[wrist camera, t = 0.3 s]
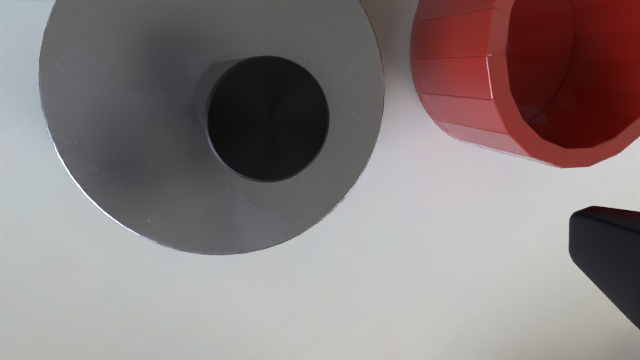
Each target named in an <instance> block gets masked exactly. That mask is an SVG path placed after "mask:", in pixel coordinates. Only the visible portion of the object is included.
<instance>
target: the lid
mask: <svg viewBox="0 0 640 360" xmlns="http://www.w3.org/2000/svg"><path fill="white" fill-rule="evenodd" d="M39 89H40V98H41V106H42V111H43V115H44V119H45V122H46V126H47V130H48V133H49V136H50V138H51V140H52V143H53V145H54V147H55V150H56V152H57V154H58V156H59V158H60V160H61V161H62V163H63V165H64V166H65V168H66V170H67V171H68V173H69V175H70V176H71V178H72V179H73V180H74V181H75V183H76V184H77V185H78V187H79V188H80V189H81V190H82V192H83V193H84V194H85V195H86V196H87V197H88V198H89V199H90V200H91V201H92V202H93V203H94V204H95V205H96V206H97V207H98V208H99V209H100V210H101V211H102V212H103V213H105V214H106V215H107V216H109V217H110V218H111V219H113V220H114V221H115V222H117V223H118V224H119V225H121V226H122V227H124V228H126V229H128V230H129V231H131V232H133V233H135V234H137V235H138V236H140V237H142V238H144V239H147V240H149V241H152V242H154V243H157V244H159V245H161V246H165V247H169V248H172V249H176V250H179V251H184V252H190V253H197V254H204V255H231V254H242V253H248V252H253V251H258V250H262V249H266V248H269V247H272V246H275V245H278V244H281V243H283V242H285V241H288V240H290V239H292V238H294V237H296V236H298V235H300V234H302V233H303V232H305V231H306V230H308V229H310V228H311V227H313V226H314V225H316V224H317V223H318V222H320V221H321V220H322V219H323V218H325V217H326V216H327V215H328V214H330V213H331V212H332V211H333V210H334V209H335V208H336V207H337V206H338V205H339V204H340V203H341V202H342V201H343V200H344V199H345V197H346V196H347V195H348V193H349V192H350V191H351V189H352V188H353V187H354V186H355V184H356V183H357V181H358V179H359V178H360V176H361V174H362V173H363V171H364V169H365V168H366V166H367V163H368V161H369V159H370V157H371V154H372V152H373V150H374V147H375V144H376V140H377V137H378V134H379V131H380V125H381V120H382V115H383V106H384V72H383V66H382V60H381V53H380V49H379V46H378V42H377V39H376V35H375V32H374V29H373V27H372V25H371V22H370V20H369V17H368V15H367V13H366V11H365V9H364V7H363V6H362V4H361V2H360V0H56V2H55V4H54V6H53V8H52V11H51V14H50V17H49V20H48V22H47V25H46V28H45V31H44V35H43V41H42V46H41V52H40V57H39Z"/></svg>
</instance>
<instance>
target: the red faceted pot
mask: <svg viewBox="0 0 640 360" xmlns="http://www.w3.org/2000/svg"><path fill="white" fill-rule="evenodd" d="M410 58H411V68H412V76H413V79H414V83H415V87H416V90H417V93H418V95H419V98H420V100H421V102H422V104H423V106H424V108H425V109H426V111H427V113H428V114H429V115H430V117H431V118H432V119H433V121H434V122H435V123H436V124H437V125H438V126H439V127H440V128H441V129H442V130H444V131H445V132H446V133H448V134H449V135H451V136H452V137H454V138H456V139H458V140H460V141H463V142H466V143H469V144H472V145H475V146H478V147H481V148H484V149H488V150H492V151H496V152H500V153H503V154H507V155H511V156H515V157H519V158H522V159H526V160H530V161H534V162H538V163H542V164H545V165H549V166H553V167H557V168H576V167H590V166H592V165H594V164H596V163H599V162H601V161H603V160H606V159H608V158H610V157H612V156H615V155H617V154H618V153H620V152H622V151H623V150H624V149H625V148H626V147H628V146H629V145H630V144H631V143H632V142H634V141H635V140H636V139H637V138H638V137H639V136H640V0H420V2H419V5H418V8H417V11H416V14H415V18H414V23H413V28H412V33H411V44H410Z"/></svg>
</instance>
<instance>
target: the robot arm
mask: <svg viewBox="0 0 640 360" xmlns="http://www.w3.org/2000/svg"><path fill="white" fill-rule="evenodd" d="M569 254H570V256H571V259H572V260H573V262H574V263H575V264H576V265H577V266H578V267H579V268H580V269H581V270H582V271H583V272H584V274H585V275H586V276H587V277H588V278H589V279H590V280H591V281H592V282H593V283H594V284H595V285H596V286H597V287H598V288H599V289H600V290H601V291H602V292H603V293H604V294H605V295H606V296H607V297H608V298H609V299H610V300H611V301H612V302H613V303H614V305H615V306H616V307H617V308H618V309H619V310H620V311H621V312H622V313H623V314H624V315H625V316H626V317H627V318H628V319H629V320H630V321H631V322H632V323H633V324H634V325H635V326H636V327H637V328H638V329H639V330H640V212H637V211H630V210H622V209H615V208H607V207H600V206H591V207H587V208H585V209H582V210H579V211H576V212H574V213H573V214H572V215H571V217H570V220H569Z"/></svg>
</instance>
